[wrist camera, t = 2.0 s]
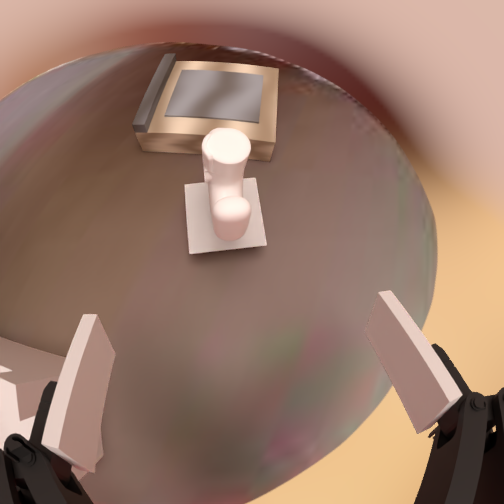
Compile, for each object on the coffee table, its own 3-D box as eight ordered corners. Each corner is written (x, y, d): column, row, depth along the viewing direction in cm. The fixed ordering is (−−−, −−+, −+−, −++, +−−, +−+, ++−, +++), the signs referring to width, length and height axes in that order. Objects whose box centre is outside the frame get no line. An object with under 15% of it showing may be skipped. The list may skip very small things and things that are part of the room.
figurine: (250, 185, 32) (270, 90, 18) (263, 264, 30) (299, 208, 15) (188, 191, 31) (167, 97, 17) (194, 272, 29) (166, 221, 14)
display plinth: (142, 151, 32) (132, 124, 27) (169, 80, 36) (165, 53, 30) (269, 161, 33) (277, 134, 28) (274, 88, 37) (280, 61, 31)
